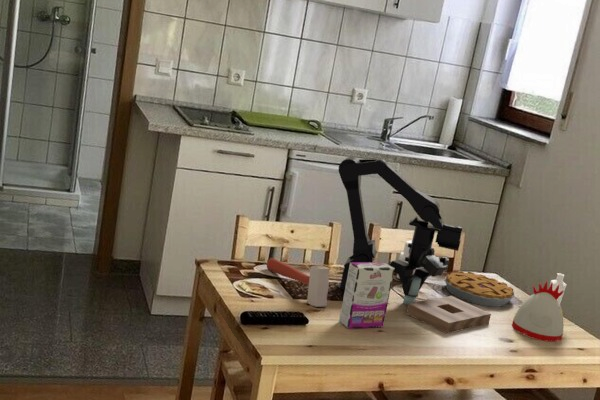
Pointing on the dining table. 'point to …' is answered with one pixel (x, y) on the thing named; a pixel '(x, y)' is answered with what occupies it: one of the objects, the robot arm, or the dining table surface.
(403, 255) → the medicine bottle
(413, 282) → the stepped peg
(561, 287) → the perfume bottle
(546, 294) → the kitchen timer
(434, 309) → the socket board
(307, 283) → the mallet
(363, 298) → the candy bar box
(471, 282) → the pie
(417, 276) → the robot arm
